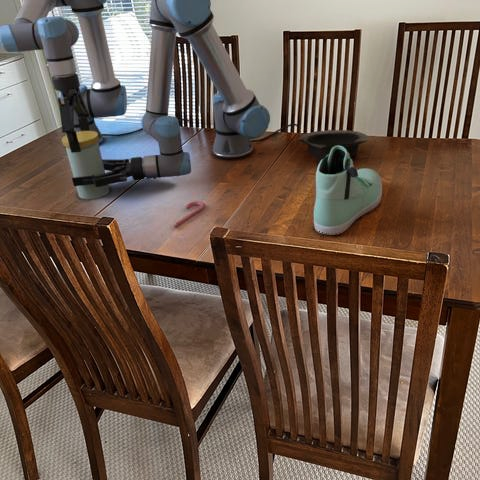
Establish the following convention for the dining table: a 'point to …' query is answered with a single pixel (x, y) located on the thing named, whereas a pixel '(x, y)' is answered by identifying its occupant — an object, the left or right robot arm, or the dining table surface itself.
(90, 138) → the lid
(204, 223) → the dining table surface
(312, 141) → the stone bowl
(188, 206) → the candy cane
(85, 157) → the jar
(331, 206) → the sneaker
